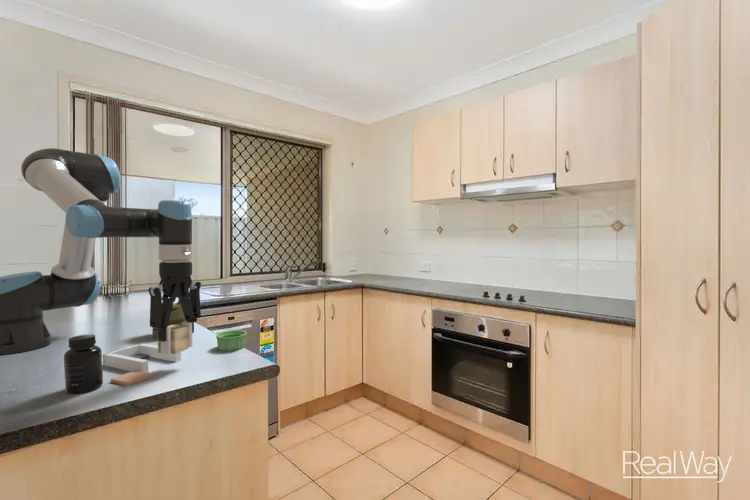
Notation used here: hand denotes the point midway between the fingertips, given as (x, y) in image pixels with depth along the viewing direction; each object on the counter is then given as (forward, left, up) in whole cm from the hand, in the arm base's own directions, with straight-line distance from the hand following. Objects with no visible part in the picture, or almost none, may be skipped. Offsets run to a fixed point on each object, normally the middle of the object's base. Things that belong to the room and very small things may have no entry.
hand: (177, 349), depth 97 cm
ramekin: (-1, +20, -6) cm, 21 cm away
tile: (-4, -9, -5) cm, 11 cm away
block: (-1, 0, 0) cm, 1 cm away
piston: (-32, +23, -6) cm, 40 cm away
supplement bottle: (-9, -17, -6) cm, 20 cm away
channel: (-13, 0, -5) cm, 15 cm away
